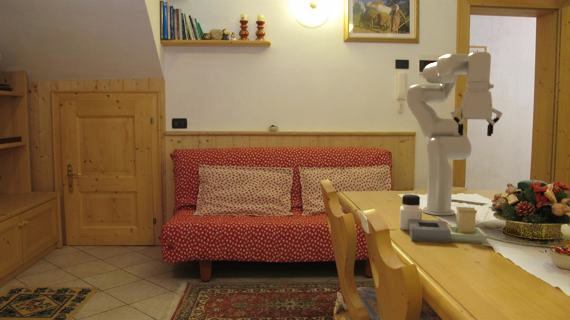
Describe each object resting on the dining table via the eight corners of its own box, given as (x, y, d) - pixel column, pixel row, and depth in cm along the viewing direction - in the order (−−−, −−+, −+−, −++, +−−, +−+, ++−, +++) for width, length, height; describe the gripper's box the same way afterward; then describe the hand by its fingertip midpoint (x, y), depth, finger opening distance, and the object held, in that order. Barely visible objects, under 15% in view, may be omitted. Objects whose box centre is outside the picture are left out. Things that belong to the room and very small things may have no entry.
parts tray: (445, 232, 165) (445, 225, 164) (478, 234, 163) (478, 227, 162) (450, 241, 154) (450, 233, 154) (486, 243, 152) (486, 235, 152)
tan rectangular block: (455, 232, 161) (456, 206, 160) (471, 233, 160) (473, 207, 159) (457, 236, 156) (459, 210, 155) (475, 237, 155) (476, 210, 154)
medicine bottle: (420, 230, 167) (422, 197, 165) (400, 229, 168) (401, 196, 167) (419, 226, 174) (420, 193, 172) (399, 224, 175) (400, 192, 174)
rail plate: (407, 230, 167) (408, 219, 167) (443, 232, 165) (443, 220, 165) (411, 240, 153) (412, 228, 153) (450, 243, 151) (450, 230, 151)
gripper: (500, 88, 171) (497, 135, 173) (450, 88, 174) (448, 134, 176) (506, 87, 164) (503, 136, 165) (454, 87, 167) (451, 135, 168)
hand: (474, 135), depth 171 cm, fingers open, 9 cm apart
